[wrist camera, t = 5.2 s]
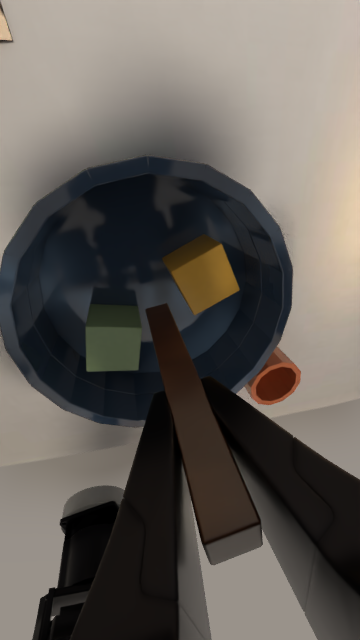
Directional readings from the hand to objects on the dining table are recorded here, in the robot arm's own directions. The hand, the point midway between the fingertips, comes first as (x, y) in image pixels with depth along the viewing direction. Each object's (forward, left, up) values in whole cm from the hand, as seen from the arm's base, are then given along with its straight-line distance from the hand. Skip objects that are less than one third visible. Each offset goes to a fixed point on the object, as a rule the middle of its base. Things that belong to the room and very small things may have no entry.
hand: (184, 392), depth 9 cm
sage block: (-3, -1, -9) cm, 10 cm away
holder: (+7, -8, -10) cm, 15 cm away
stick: (0, 0, -6) cm, 6 cm away
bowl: (0, 0, -10) cm, 10 cm away
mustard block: (+3, +1, -9) cm, 10 cm away
